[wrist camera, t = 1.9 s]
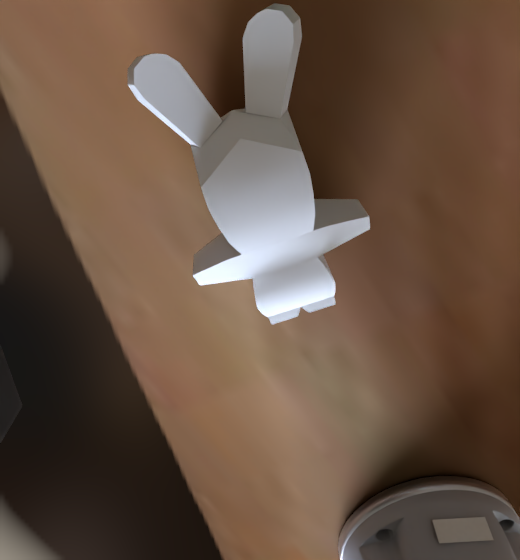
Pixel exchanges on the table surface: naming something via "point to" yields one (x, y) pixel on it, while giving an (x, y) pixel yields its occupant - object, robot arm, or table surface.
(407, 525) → the robot arm
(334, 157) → the table surface
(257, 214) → the bunny figurine
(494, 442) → the table surface
